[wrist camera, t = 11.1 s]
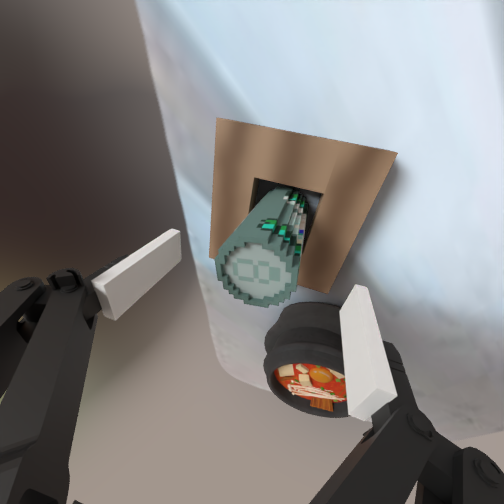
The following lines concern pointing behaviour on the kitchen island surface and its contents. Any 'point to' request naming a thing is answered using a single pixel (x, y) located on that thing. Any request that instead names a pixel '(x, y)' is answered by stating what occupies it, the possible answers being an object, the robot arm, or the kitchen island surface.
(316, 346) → the casserole
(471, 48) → the kitchen island surface
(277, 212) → the can
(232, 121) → the frame
